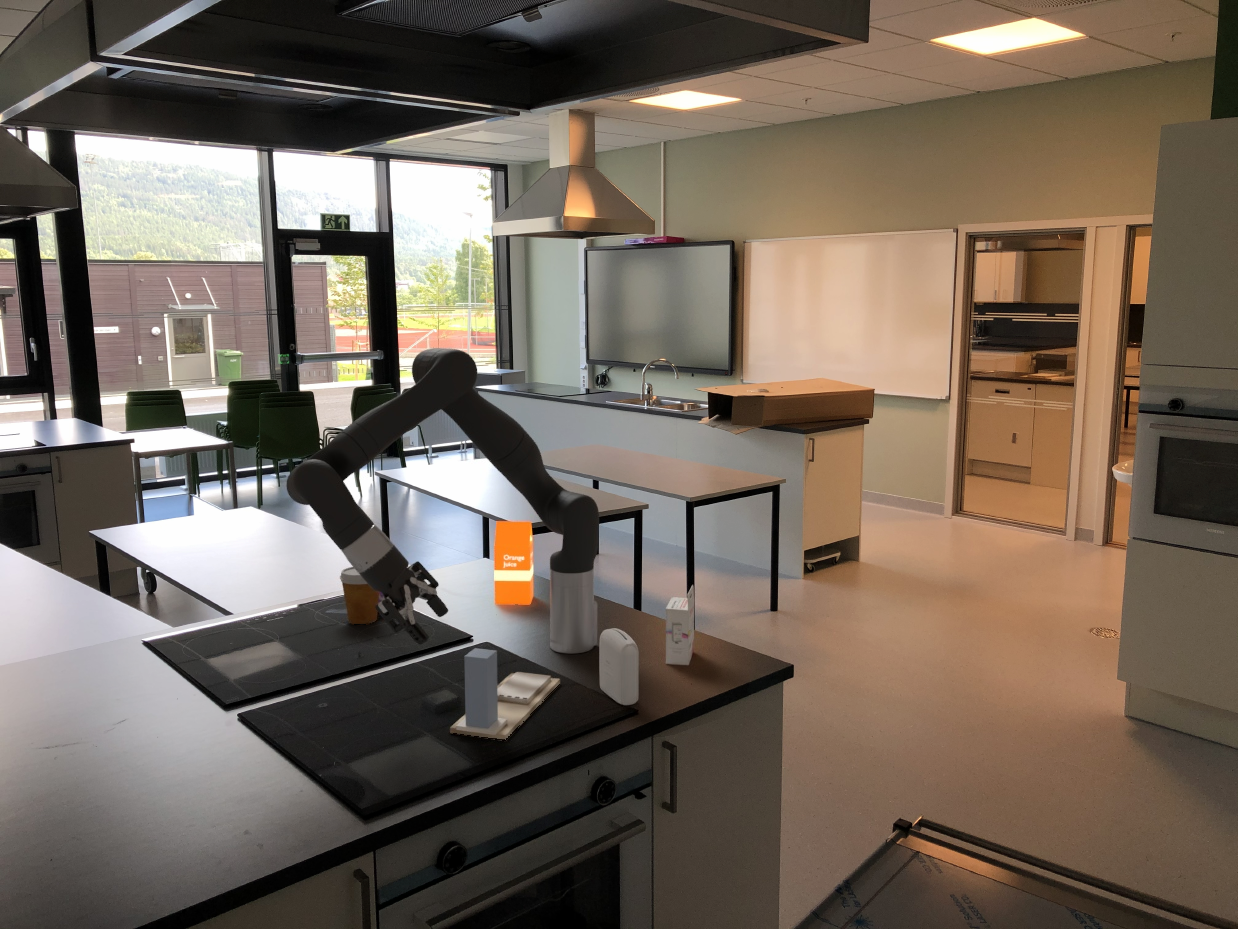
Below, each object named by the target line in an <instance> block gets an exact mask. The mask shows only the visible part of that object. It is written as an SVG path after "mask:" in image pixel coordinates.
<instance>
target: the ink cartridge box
mask: <svg viewBox="0 0 1238 929" xmlns="http://www.w3.org/2000/svg"><path fill="white" fill-rule="evenodd" d="M686 595H687V596H686V597H677V596H675V597H673V596H672V597H671V598H670V601H669V602H668V604H667V605H666V607H665V664H666V665H679V666H689V665H690V662H691V659H692V656H693V653H694V640H695V634H694V633H695V588H694V584H692V585H691V587H690V589H689V591H688V593H687V594H686Z"/></svg>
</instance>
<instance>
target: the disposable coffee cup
mask: <svg viewBox="0 0 1238 929" xmlns="http://www.w3.org/2000/svg"><path fill="white" fill-rule="evenodd" d="M339 579H340V582H341V583H342V588H343V589H342V590H343V596H344V603H345V608H346V612H347V613H346V614H347V620H348V623H349V622H350V623H352V624H351V625H354V624H366V623H371V622H373V621H375V620H378V613H379V612H378V611H377V610H376V608H375V605H376V604H378V602H379V591H374V590H373V589H372V588H371V587H370V586H369V585H368V583H367V582H366V581H365V580H364V579H363V578H362V576H361V575H360V574H359V573H358V572H357V571H356V570H355V568H354V567H353V566H350V567H346V568H344V569H342V570H341V574H340V575H339ZM350 623H349V624H350ZM371 624H372V623H371ZM366 625H367V624H366Z"/></svg>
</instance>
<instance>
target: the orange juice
mask: <svg viewBox="0 0 1238 929" xmlns="http://www.w3.org/2000/svg"><path fill="white" fill-rule="evenodd" d="M495 522H496V523H495V535H494V545H493V553H494V554H493V557H494V558H493V560H494V563H493V566H494V567H493V568H494V570H493V572H494V573H493V576H494V605H515V604H518V605H519V606H520V605H528V606H529V605H531V603H532V600H533V599H534V539H533V529H532V527H533V526H532V521H518V520H517V521H516V520H515V521H512V520H511V521H510V520H509V521H504V520H503V521H502V520H499V521H497V520H496V521H495ZM518 605H517V606H518Z"/></svg>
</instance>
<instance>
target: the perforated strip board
mask: <svg viewBox="0 0 1238 929" xmlns="http://www.w3.org/2000/svg"><path fill="white" fill-rule="evenodd" d="M559 684H560V685H561V678H557V677H556V678H555V677H554V678H553V677H552V675H546V674H539V673H530V672H522V671H516V672H515V673H514V672H511V673H510V674H509V675H508V676H506V677H505V678H504V679H503V680H502V681H501V682H500V683H498V684H497V693H498V718H503V719H507V724H506V725H505V726H504V727H503V728H502V729H501V730H500V731H499V732H498V733H497V734H496V735H490V734H483V733H476V732H469V731H462V730H456V725H458V724H459V723H460V722H461V721H462V720H463V719H464V718H465V717H466V714H465V713H464V715H463V716H461V717H460V718H459V719H458V720H457V721H456V722H455V723H453V725H451V726H450V727H449V732H450V734H453V733H457V734H456V735H460V734H464V735H463V736H467V735H471V736H470V737H474V736H479V737H478V738H481V737H488V738H497V739H505V740H506V738H508V736H510V734H512V732H513V731H514V730H515V729H516V728H517V727H518V726H519V725H520V726H522V725H523V723H524V722H525V721H526V720H527V719H528V718H529V717H530V716H531V715H532V714H533V713H534V712H535V711H536V710H537V709H538V708H539V707H540V706H541V705H542V703H543V702H544V701H545V700H546V699H547V698H548V697H549V696H550V695H551V694H552V693H553V692H554V691H555V690H556V689H557V688H558V687H559V686H560V685H559ZM558 685H559V686H558ZM557 686H558V687H557ZM556 687H557V688H556ZM555 688H556V689H555ZM554 689H555V690H554ZM553 690H554V691H553ZM552 691H553V692H552ZM551 692H552V693H551ZM550 693H551V694H550ZM549 694H550V695H549ZM548 695H549V696H548ZM547 696H548V697H547ZM546 697H547V698H546ZM545 698H546V699H545ZM544 699H545V700H544ZM542 701H543V702H542ZM539 705H540V706H539ZM538 706H539V707H538ZM537 707H538V708H537ZM536 708H537V709H536ZM535 709H536V710H535ZM534 710H535V711H534ZM533 711H534V712H533ZM532 712H533V713H532ZM531 713H532V714H531ZM530 714H531V715H530ZM523 721H524V722H523ZM520 726H519V727H520ZM519 727H518V728H519ZM512 735H513V734H512ZM510 737H511V736H510ZM488 738H487V739H488ZM508 739H509V738H508ZM506 741H507V740H506Z"/></svg>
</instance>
